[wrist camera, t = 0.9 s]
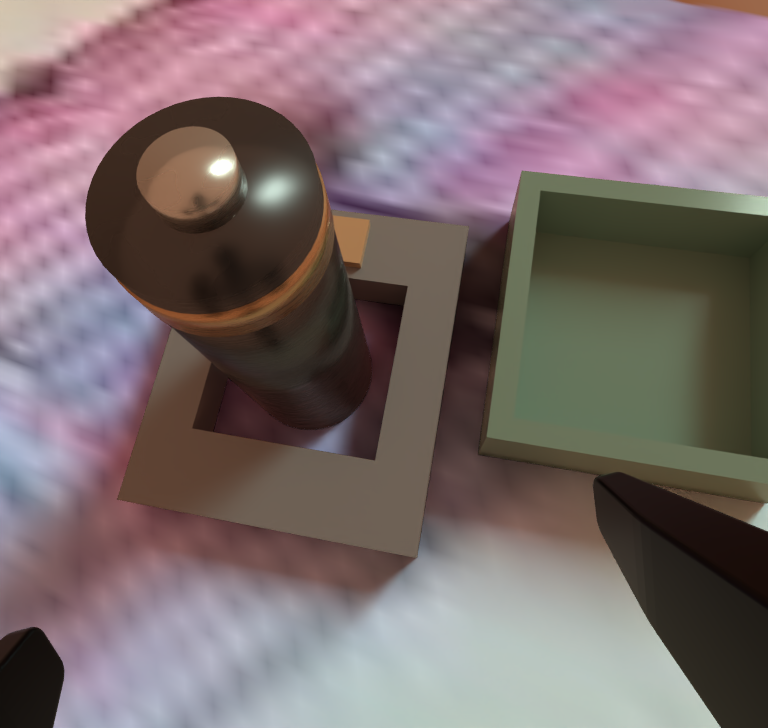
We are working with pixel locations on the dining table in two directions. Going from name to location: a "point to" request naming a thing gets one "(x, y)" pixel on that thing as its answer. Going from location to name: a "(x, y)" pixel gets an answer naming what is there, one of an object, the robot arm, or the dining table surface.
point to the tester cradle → (306, 466)
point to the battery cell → (236, 253)
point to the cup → (633, 335)
